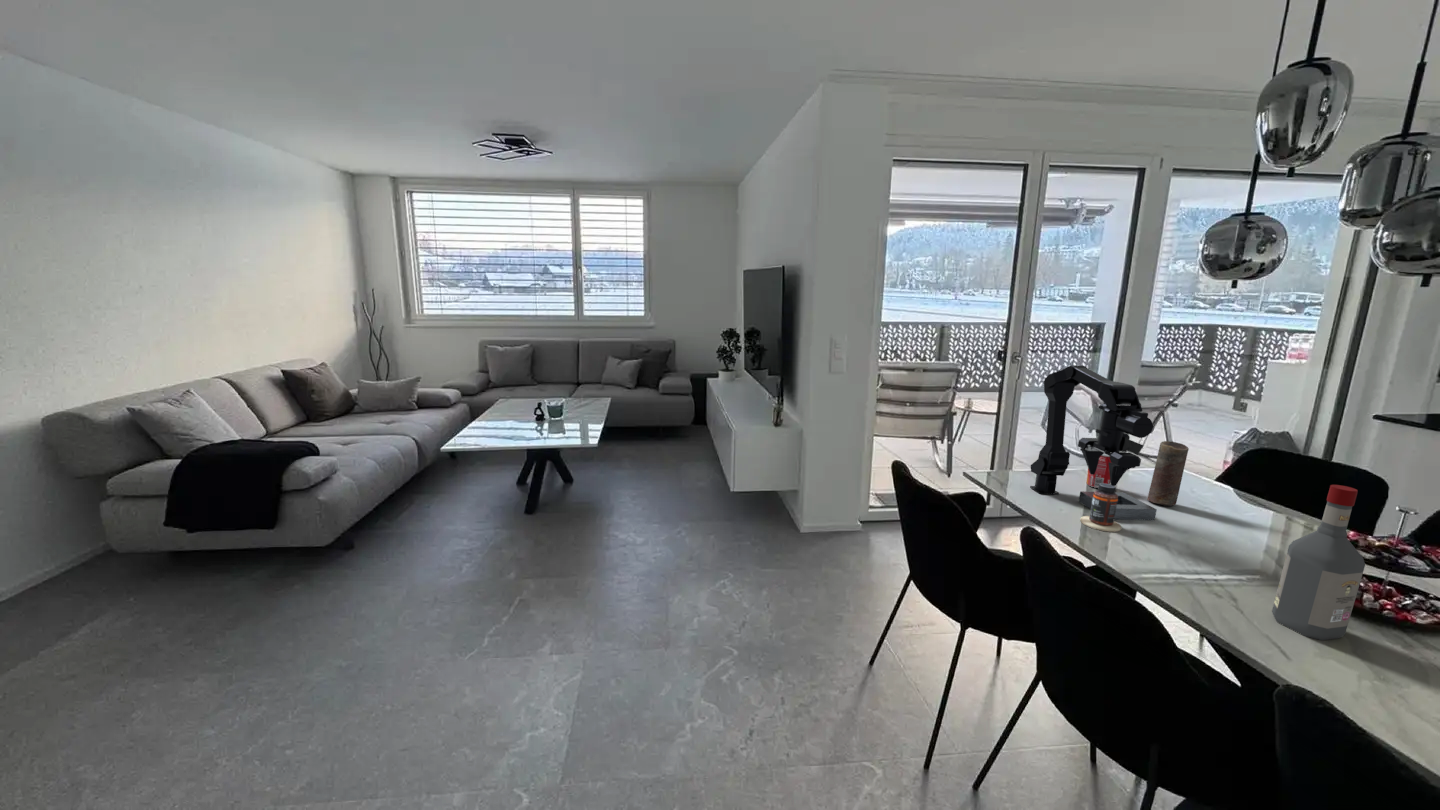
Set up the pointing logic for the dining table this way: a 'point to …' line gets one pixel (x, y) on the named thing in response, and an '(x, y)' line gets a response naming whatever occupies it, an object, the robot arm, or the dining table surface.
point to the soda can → (1100, 472)
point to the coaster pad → (1111, 528)
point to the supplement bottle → (1104, 505)
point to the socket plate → (1124, 507)
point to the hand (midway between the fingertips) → (1102, 479)
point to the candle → (1168, 473)
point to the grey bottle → (1321, 574)
